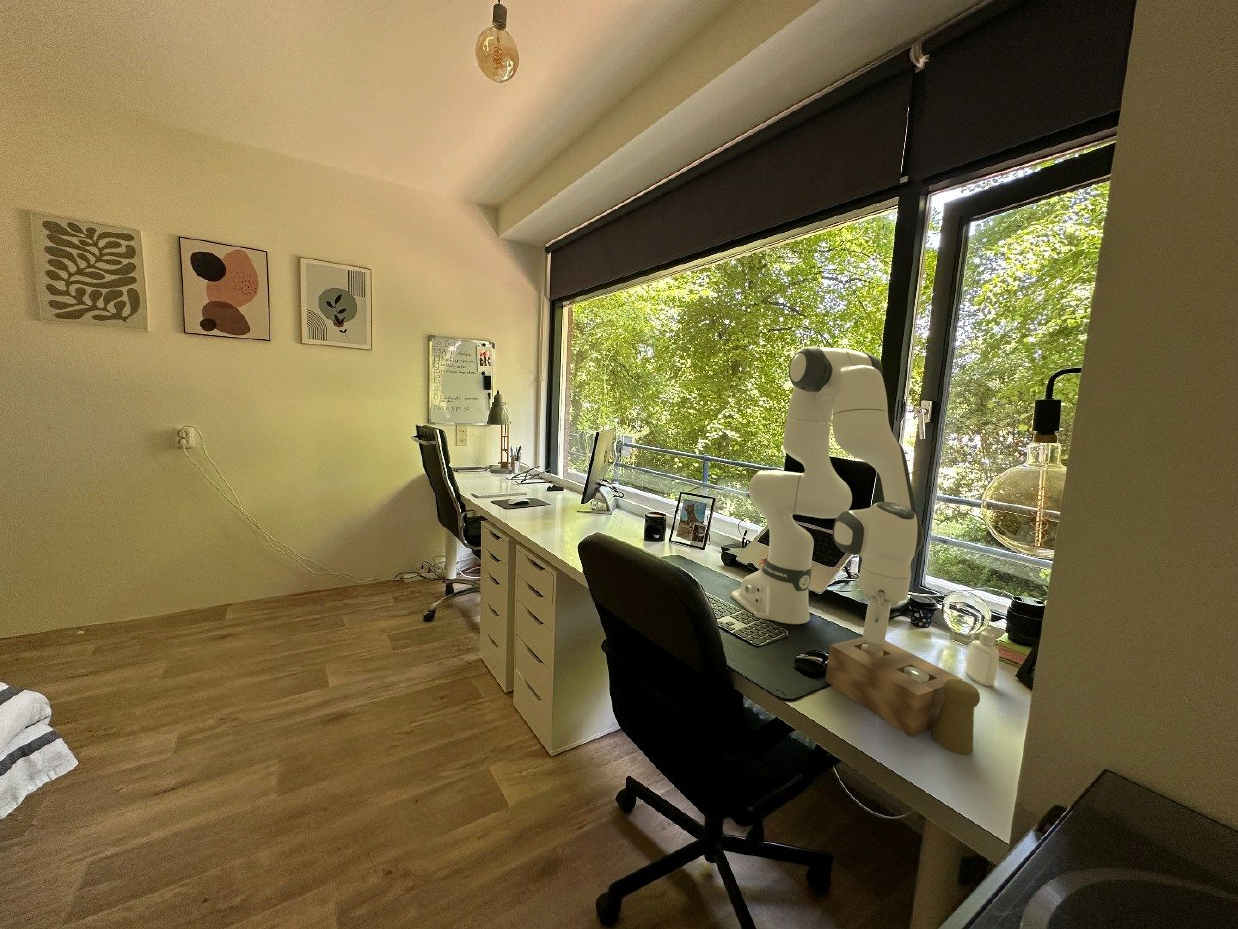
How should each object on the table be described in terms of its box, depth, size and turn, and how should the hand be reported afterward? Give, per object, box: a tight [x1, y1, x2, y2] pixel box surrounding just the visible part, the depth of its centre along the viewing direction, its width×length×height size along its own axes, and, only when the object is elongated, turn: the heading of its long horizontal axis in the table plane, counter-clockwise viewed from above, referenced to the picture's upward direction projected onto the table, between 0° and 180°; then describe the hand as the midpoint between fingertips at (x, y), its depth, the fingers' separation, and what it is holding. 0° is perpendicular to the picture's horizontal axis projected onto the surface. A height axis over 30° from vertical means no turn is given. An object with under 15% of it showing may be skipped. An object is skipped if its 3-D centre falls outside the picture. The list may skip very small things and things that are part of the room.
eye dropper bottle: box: [965, 626, 1000, 687], centre depth 105 cm, size 4×6×12 cm
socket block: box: [825, 636, 964, 738], centre depth 95 cm, size 18×14×8 cm
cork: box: [931, 679, 981, 756], centre depth 83 cm, size 6×6×11 cm
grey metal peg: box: [904, 667, 929, 683], centre depth 91 cm, size 4×4×8 cm
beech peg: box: [861, 644, 884, 658], centre depth 99 cm, size 4×4×8 cm
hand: (872, 649), depth 98 cm, fingers closed, pressing on beech peg
